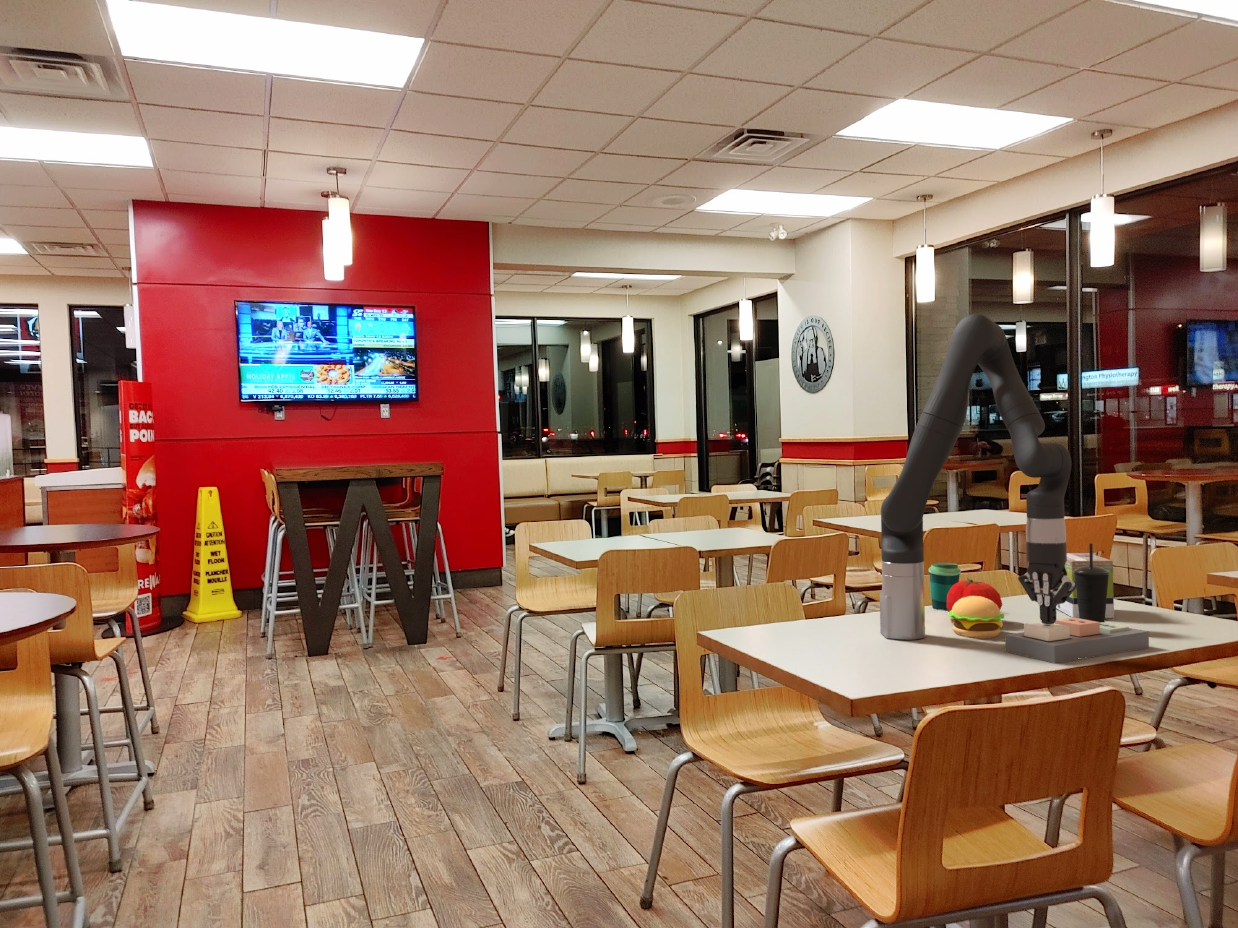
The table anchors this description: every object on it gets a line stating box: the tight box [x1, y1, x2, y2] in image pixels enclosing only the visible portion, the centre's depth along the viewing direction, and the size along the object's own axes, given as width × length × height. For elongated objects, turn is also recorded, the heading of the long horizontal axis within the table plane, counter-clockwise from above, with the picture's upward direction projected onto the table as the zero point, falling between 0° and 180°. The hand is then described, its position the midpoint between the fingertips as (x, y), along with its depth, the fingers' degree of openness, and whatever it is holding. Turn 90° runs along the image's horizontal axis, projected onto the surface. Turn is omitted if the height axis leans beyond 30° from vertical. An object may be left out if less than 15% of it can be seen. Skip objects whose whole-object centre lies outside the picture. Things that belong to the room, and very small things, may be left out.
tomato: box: [947, 577, 1003, 613], centre depth 216 cm, size 13×12×11 cm
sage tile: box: [1100, 621, 1130, 633], centre depth 189 cm, size 6×6×2 cm
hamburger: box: [947, 596, 1005, 639], centre depth 203 cm, size 12×12×9 cm
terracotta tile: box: [1054, 617, 1100, 637], centre depth 185 cm, size 6×6×2 cm
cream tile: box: [1023, 621, 1070, 641], centre depth 182 cm, size 6×6×2 cm
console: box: [1004, 622, 1150, 664], centre depth 185 cm, size 28×12×4 cm, turn 114°
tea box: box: [1056, 552, 1115, 619], centre depth 225 cm, size 15×10×15 cm, turn 172°
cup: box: [928, 562, 962, 611], centre depth 235 cm, size 8×8×12 cm
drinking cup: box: [1073, 543, 1110, 623], centre depth 206 cm, size 8×8×20 cm
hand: (1048, 623), depth 182 cm, fingers closed
